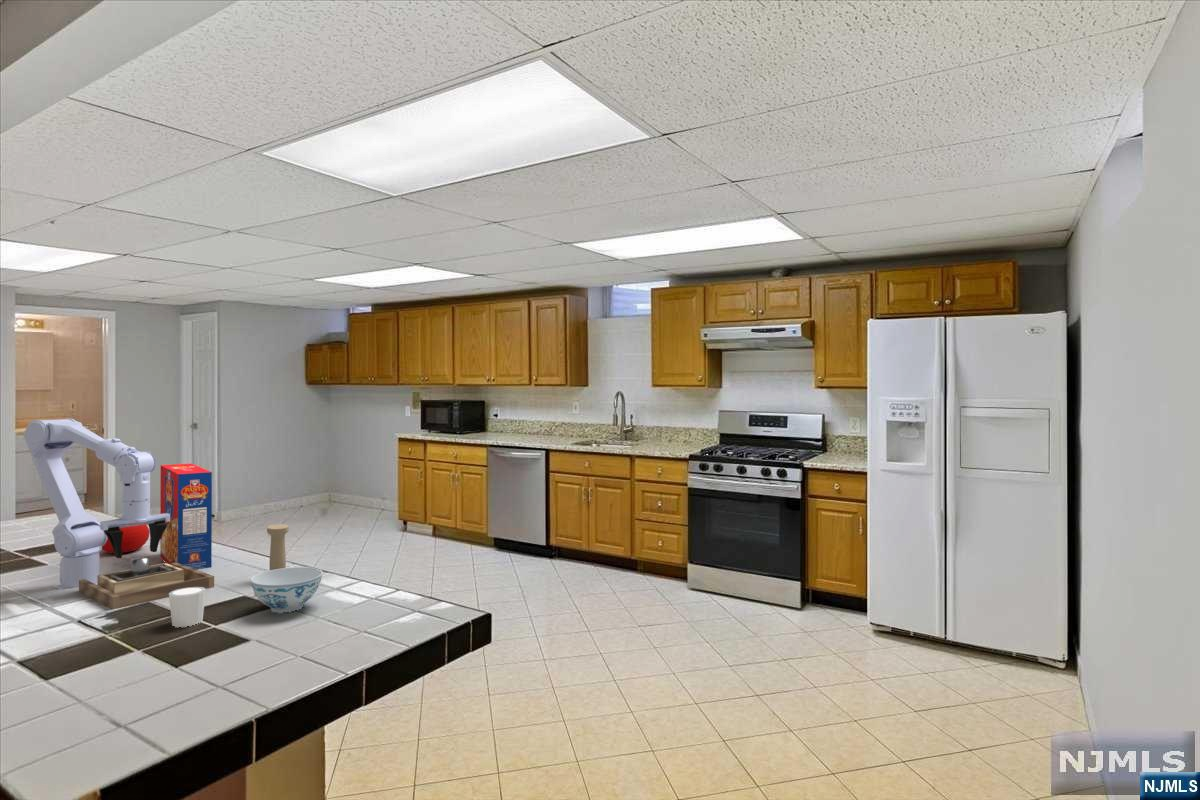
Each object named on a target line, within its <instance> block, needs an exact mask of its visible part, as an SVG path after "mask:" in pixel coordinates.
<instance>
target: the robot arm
mask: <svg viewBox="0 0 1200 800" xmlns="http://www.w3.org/2000/svg"><path fill="white" fill-rule="evenodd" d="M23 440H24V441H25V443H26V445H27V447H28V448H27V449H28V450H29V452H30V454H31V455H30V456H31V460H32V463H33V465H34V467H35V470H36V471H37V475H38V476H39V480H40V481H41V482H42V486H43V487H44V490H45V492H46V494H47V497H48V499H49V501H50V503H51V505H52V508H53V510H54V512H55V515H56V517H57V518H58V519H57V520H58V523H57V524H56V525H55V526H54V528H53V529H52V530H51V533H52V535H53V544H54V549H55V550H56V552H57V553H58V554H59V555H60V557H62V558H61V559H60V562H59V584H58V585H55V586H54V587H55V589H57V590H62V589H67V588H69V589H70V588H73V589H74V588H79V580H83V579H86V580H88V581H90V582H92V583H94V584H96V585H97V575H100V551H103V550H102V546H103V545H104V544H105V543H106V541H107V538H108V539H109V540H110V542H111V545H112V547H113V550H114V558H116V559H121V558H122V557H123V556H122V555H123V553H122V536H123V531H121V529H119V528H122V527H129V526H136V525H144V524H146V525H147V526H148V528H149V549H150V550H149V551H150V552H151V553H157V552H158V547H159V545H160V538H161V536H162V534H163V532H164V531H165V529H166V528H167V523H165V522H169V521H170V514H168V513H165V514H160V513H155V514H151V473H153V472H154V471H155V469H156V467H157V459H156V457H155V455H154V454H153V453H151V451H149V450H141V451H138V450H137V449H136V448H135V447H134V446H129V445H127V444H125V443H123V442H122V440H121V439H120V438H115V437H113V438H107V439H104V438H103V437H101V436H100V435H98V434H96V433H95V432H92V431H91V430H89V429H88V428H86V427H84V426H83V424H82V422H80V421H77V420H76V419H74V418H71V417H69V418H68V417H67V418H61V419H33V420H31V421H29V422H28V424H27V425H26V428H25V430H24V433H23ZM74 444H78V445H79V446H81V447H85V448H86V449H89V450H91V451H94V453H95V457H96V458H97V459H99V460H100V461H103V462H105V463H106V464H109V466H113V467H114V468H116V471H117V473H118V474H119V478H120V479H119V480H120V482H121V484H122V485H121V486H122V489H121V491H122V493H121V494H122V499H121V501H122V503H121V504H122V505H121V506H122V509H121V511H122V512H121V514H122V517H119V518H115V519H109V520H103V521H99V519H98V517H97V516H94V515H92V514H91V513H90V514H89V513H88V512H86V510H85V509H84V506H83V504H82V502H81V499H80V497H79V495H78V492H77V490H76V488H75V486H74V484H73V481H72V479H71V476H70V475H69V474H70V473H68V470H67V468H66V466H65V463H64V461H63V459H62V458H63V456H64V455H65V454H67V452H68V451H69V450H70V448H71V447H72V446H73V445H74ZM129 523H134V524H129Z"/></svg>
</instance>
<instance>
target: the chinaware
mask: <svg viewBox="0 0 1200 800" xmlns="http://www.w3.org/2000/svg"><path fill="white" fill-rule="evenodd" d="M322 577H323V571H322V570H321V569H318V568H314V567H309V566H308V567H307V566H297V567H296V566H295V567H294V566H293V567H292V566H291V567H286V568H282V569H275V570H270V569H269V570H268V571H267V570H266V571H263V572H260V573H258V574H254V575H253V576H252V577H251V579H250V583H251V588H252V590H253V593H254V594H255V597H256V598H257V599H258V600H259V601H260V602H261V603H262V604H263V605H265V606H267V607H269V608H270V610H271V612H272V611H273V612H272V613H274V612H278V613H277V614H284V613H283V612H289V613H292V612H291V611H294V612H296V611H295V610H297V611H300V610H301V609H303V608H302V607H304V604H305V603H306V602H308V601H309V600H310V599H311V598H312V597H313V596H314V595H315V593H316V592H317V590H318V588H319V587H320V584H321V581H322ZM299 609H300V610H299Z"/></svg>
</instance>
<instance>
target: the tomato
mask: <svg viewBox="0 0 1200 800" xmlns="http://www.w3.org/2000/svg"><path fill="white" fill-rule="evenodd" d="M129 524H134V523H129ZM119 529H121V531H123V536H122V554H124V553H129V552H133V551H137V550H138V549H141V548H142V547H143V546H144V545H146V543H147V542H148V540H149V539H150V530H149V525H148V524H144V525H136V526H129V527H122V528H119ZM101 551H102V552H104V553H108V554H113V553H114V550H113V547H112V545H111V542H110V540H109V539H108V538H107V541H106V543H105V544H104V545H103V546H102V550H101Z"/></svg>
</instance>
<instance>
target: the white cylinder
mask: <svg viewBox="0 0 1200 800" xmlns="http://www.w3.org/2000/svg"><path fill="white" fill-rule="evenodd" d="M206 590H207V589H205V588H203V587H188V588H181V589H177V590H174V591H172V592H170V593H169V597H168V598H169V607H170V616H171V617H170V619H171V626H172V627H173V626H175V627H174V628H179V627H181V628H188V627H187V626H189V627H193V626H192V625H194V626H196V625H195V624H197V625H199V624H201V623H202V622H203V621H204V620H203V619H204V612H205V602H206V592H207V591H206ZM200 622H201V623H200ZM198 623H199V624H198Z"/></svg>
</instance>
